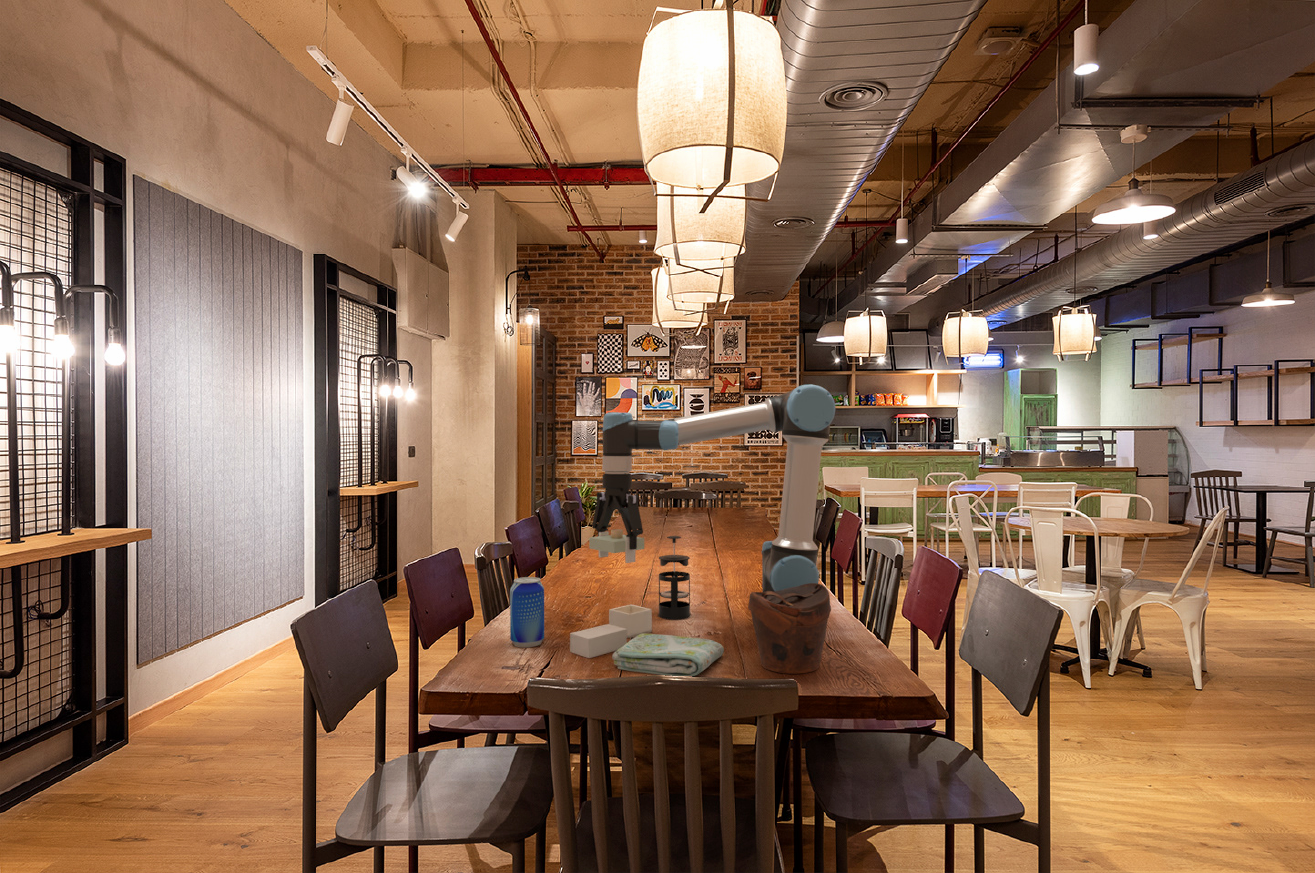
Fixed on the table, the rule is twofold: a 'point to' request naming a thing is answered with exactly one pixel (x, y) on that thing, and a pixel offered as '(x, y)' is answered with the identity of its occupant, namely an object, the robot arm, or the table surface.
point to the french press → (674, 588)
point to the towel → (667, 655)
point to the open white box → (632, 619)
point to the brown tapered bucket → (791, 627)
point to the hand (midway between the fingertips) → (616, 559)
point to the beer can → (527, 612)
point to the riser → (597, 640)
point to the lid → (613, 542)
